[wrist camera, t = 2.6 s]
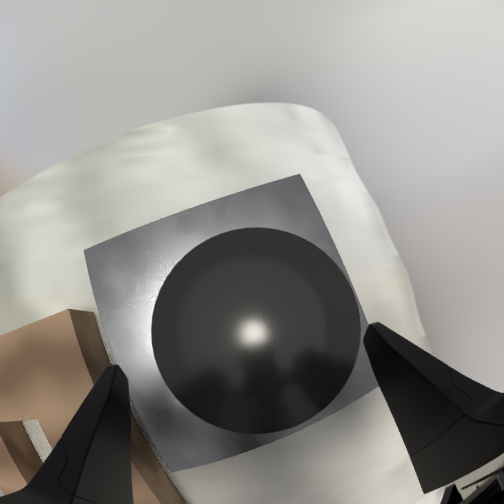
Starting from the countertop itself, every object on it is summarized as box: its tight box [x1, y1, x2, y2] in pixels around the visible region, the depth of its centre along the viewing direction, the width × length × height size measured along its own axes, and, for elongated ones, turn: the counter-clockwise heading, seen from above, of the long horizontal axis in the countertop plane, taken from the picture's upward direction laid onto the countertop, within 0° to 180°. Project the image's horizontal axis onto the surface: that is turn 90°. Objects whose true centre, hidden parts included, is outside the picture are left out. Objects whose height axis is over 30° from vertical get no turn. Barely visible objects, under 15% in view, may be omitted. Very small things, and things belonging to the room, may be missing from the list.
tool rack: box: [0, 309, 187, 504], centre depth 11 cm, size 18×18×4 cm
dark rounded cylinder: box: [151, 227, 361, 434], centre depth 11 cm, size 4×4×13 cm
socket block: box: [84, 174, 379, 472], centre depth 16 cm, size 14×14×4 cm
